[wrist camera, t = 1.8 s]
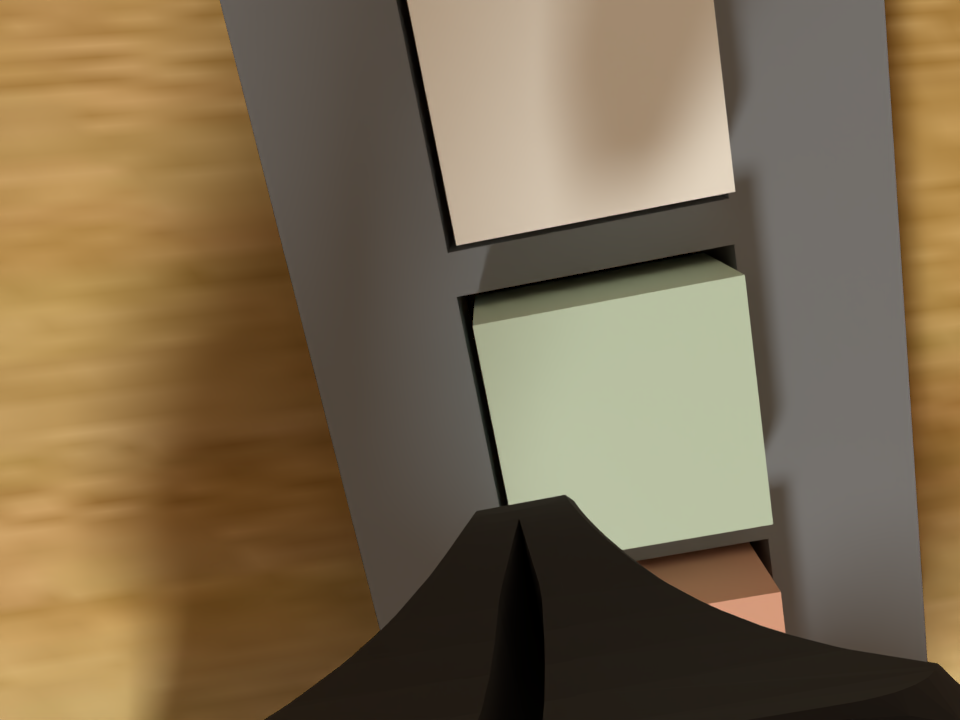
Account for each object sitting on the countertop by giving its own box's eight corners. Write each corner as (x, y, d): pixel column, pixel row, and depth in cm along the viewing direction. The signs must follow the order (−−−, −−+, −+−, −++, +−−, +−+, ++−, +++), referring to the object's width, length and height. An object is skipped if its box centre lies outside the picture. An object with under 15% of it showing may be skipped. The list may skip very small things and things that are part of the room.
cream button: (694, 182, 18) (734, 191, 15) (461, 228, 18) (456, 245, 15) (662, -75, 16) (699, -120, 13) (412, -21, 17) (396, -54, 14)
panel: (877, 692, 23) (934, 773, 20) (442, 760, 23) (435, 848, 20) (805, -170, 17) (869, -231, 14) (245, -48, 18) (198, -83, 15)
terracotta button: (760, 704, 21) (804, 796, 18) (562, 735, 21) (573, 831, 18) (737, 524, 20) (780, 591, 17) (527, 560, 20) (534, 632, 17)
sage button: (730, 465, 19) (772, 524, 16) (515, 503, 20) (520, 567, 17) (703, 252, 18) (744, 275, 15) (474, 295, 18) (472, 325, 15)
